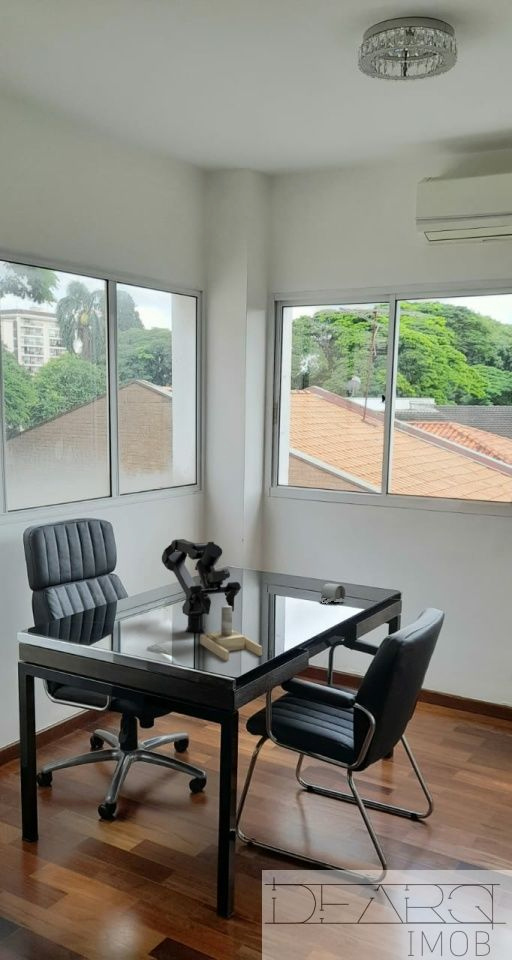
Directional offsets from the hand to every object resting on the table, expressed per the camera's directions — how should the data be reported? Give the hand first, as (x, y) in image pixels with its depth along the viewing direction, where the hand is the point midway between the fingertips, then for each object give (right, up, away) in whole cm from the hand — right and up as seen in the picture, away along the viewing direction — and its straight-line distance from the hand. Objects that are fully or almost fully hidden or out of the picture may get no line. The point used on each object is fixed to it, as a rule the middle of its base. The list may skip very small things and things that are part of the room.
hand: (220, 612), depth 264 cm
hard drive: (-17, -12, -4) cm, 21 cm away
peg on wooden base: (+2, -11, -3) cm, 11 cm away
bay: (+3, -12, -5) cm, 14 cm away
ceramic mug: (+43, -7, +65) cm, 78 cm away
